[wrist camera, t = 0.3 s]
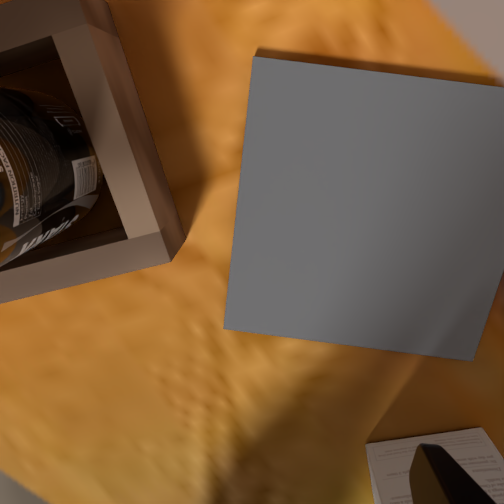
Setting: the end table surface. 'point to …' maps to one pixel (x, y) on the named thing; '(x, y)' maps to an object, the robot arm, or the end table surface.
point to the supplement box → (455, 443)
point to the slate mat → (368, 209)
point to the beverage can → (42, 170)
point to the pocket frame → (103, 139)
